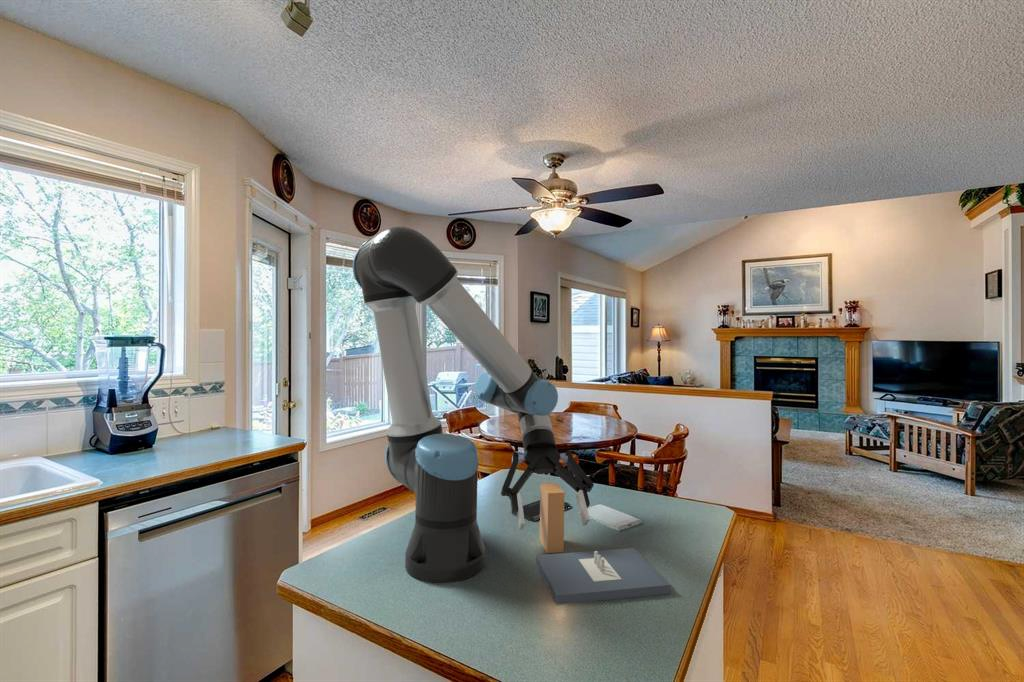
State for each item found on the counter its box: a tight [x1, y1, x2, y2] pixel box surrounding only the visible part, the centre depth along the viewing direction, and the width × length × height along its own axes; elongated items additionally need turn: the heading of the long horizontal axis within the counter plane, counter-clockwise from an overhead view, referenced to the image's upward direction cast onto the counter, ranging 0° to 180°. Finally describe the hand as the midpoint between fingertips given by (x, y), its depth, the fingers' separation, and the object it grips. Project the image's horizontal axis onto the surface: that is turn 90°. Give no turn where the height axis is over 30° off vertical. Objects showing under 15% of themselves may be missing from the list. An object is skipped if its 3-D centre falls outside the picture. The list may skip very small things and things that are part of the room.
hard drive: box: [578, 504, 642, 531], centre depth 110 cm, size 2×8×12 cm
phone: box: [510, 499, 571, 522], centre depth 115 cm, size 8×1×15 cm
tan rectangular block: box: [539, 482, 565, 554], centre depth 95 cm, size 3×6×12 cm, turn 11°
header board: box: [535, 547, 671, 606], centre depth 82 cm, size 20×14×4 cm
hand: (554, 524), depth 92 cm, fingers open, 13 cm apart
